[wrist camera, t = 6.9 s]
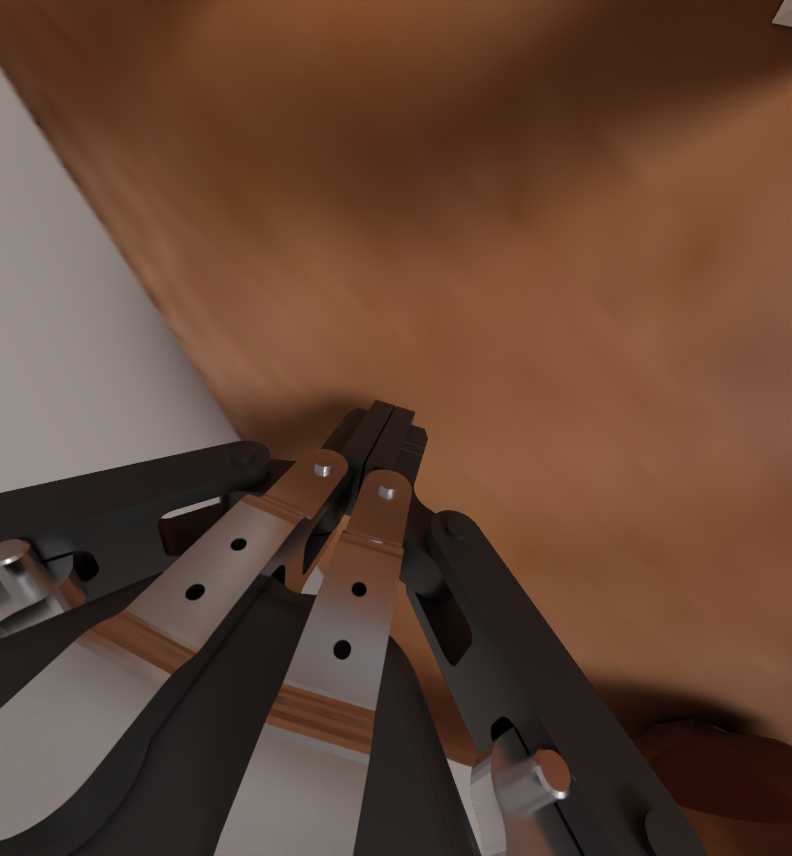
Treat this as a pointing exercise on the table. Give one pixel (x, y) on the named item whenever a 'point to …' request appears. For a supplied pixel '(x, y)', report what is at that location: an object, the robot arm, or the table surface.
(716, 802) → the butternut squash
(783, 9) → the bridge
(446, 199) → the table surface
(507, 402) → the table surface
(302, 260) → the table surface
